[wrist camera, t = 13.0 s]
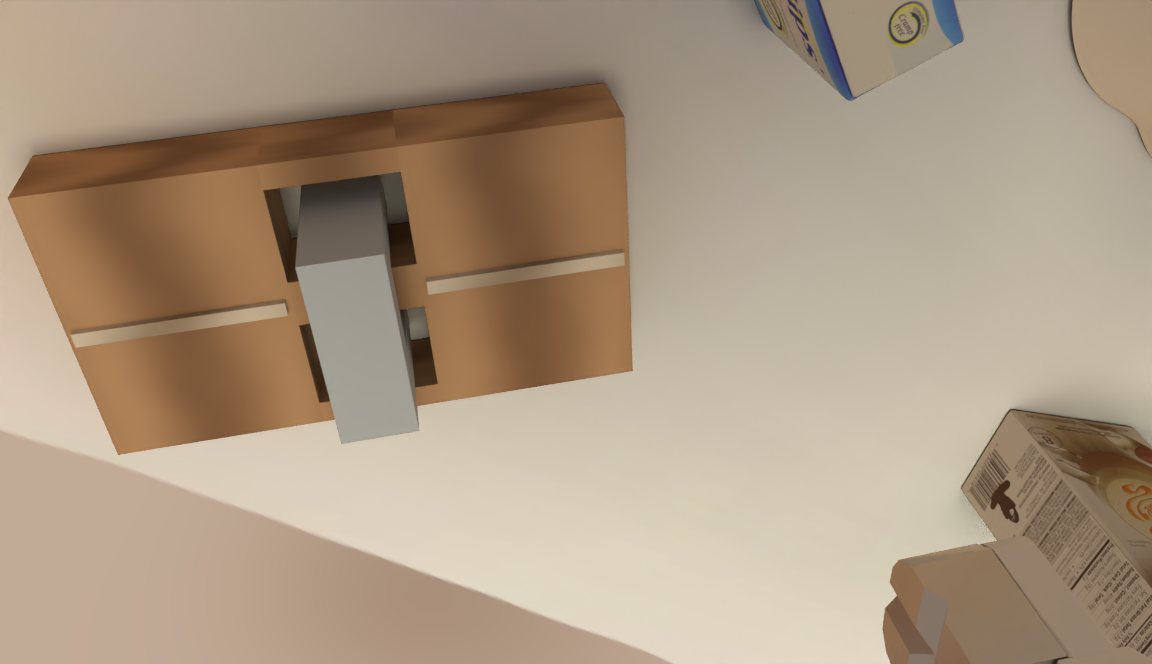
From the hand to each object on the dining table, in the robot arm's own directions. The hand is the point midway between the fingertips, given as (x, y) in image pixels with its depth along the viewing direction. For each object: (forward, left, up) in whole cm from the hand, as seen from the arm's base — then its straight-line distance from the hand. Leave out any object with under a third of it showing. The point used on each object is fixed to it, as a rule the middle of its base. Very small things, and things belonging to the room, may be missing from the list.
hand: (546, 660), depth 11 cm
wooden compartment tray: (+4, +12, -31) cm, 34 cm away
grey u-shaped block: (+4, +12, -31) cm, 34 cm away
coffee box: (-32, +32, -31) cm, 55 cm away
